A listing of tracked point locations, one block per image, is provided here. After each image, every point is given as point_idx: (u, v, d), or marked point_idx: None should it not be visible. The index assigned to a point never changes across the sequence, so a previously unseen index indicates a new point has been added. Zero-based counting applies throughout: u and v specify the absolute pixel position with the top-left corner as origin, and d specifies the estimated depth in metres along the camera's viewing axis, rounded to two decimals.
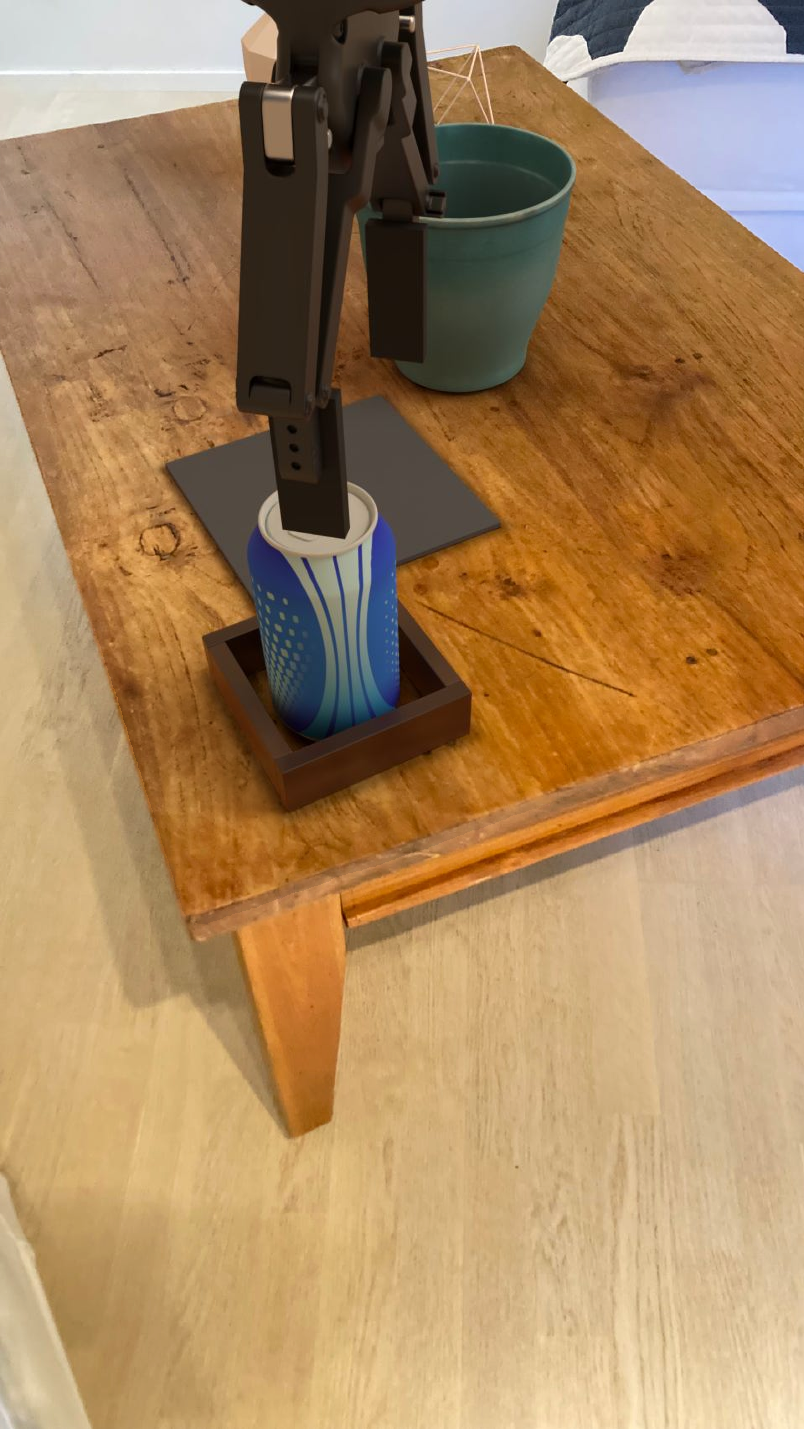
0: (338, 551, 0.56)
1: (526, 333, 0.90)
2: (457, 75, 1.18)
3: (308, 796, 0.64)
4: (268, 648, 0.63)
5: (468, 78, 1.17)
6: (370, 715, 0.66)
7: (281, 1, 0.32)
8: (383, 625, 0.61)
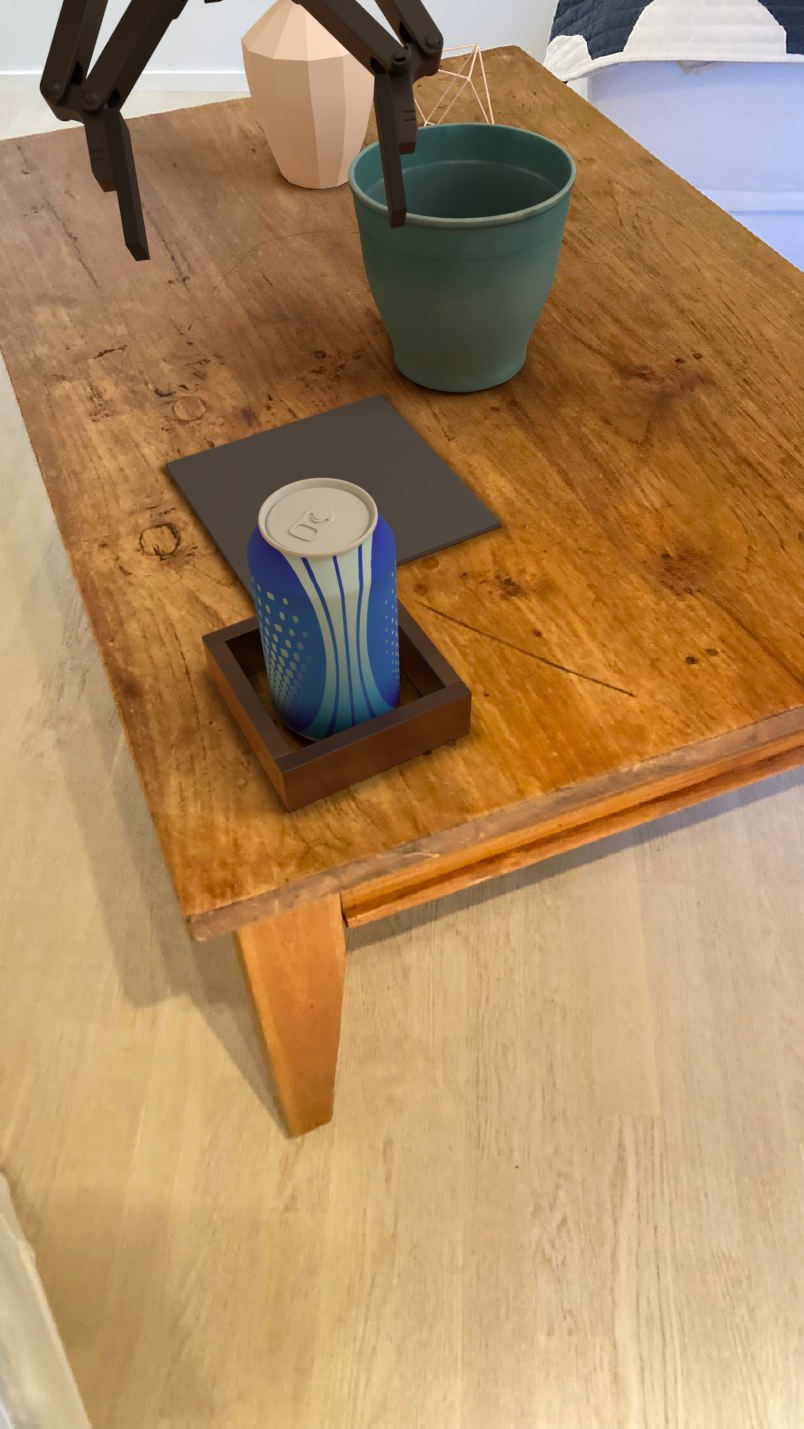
0: (338, 551, 0.56)
1: (526, 333, 0.90)
2: (457, 75, 1.18)
3: (308, 796, 0.64)
4: (268, 648, 0.63)
5: (468, 78, 1.17)
6: (370, 715, 0.66)
7: None
8: (383, 625, 0.61)
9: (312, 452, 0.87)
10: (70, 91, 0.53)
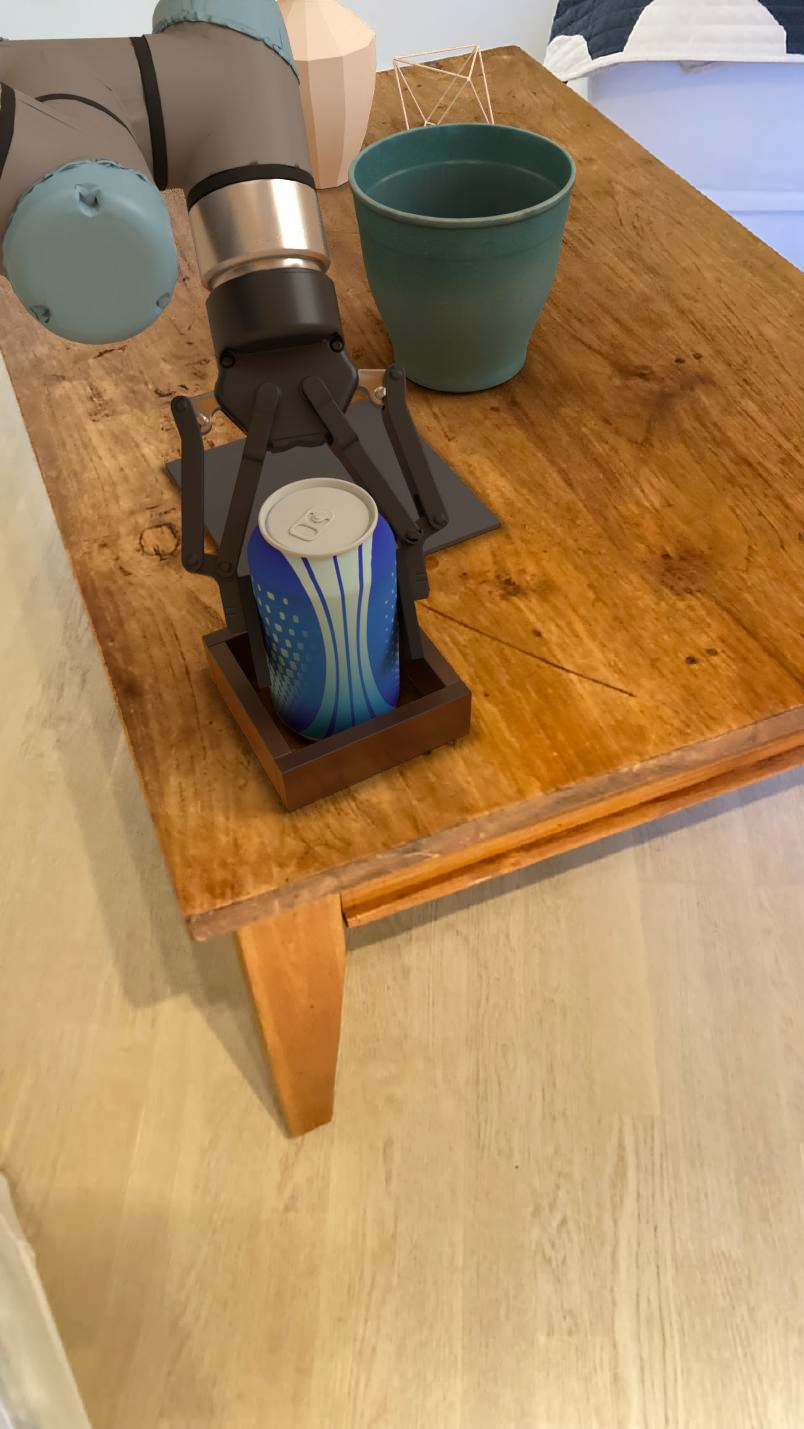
0: (338, 551, 0.56)
1: (526, 333, 0.90)
2: (457, 75, 1.18)
3: (308, 796, 0.64)
4: (268, 648, 0.63)
5: (468, 78, 1.17)
6: (370, 715, 0.66)
7: None
8: (383, 625, 0.61)
9: (312, 452, 0.87)
10: (206, 559, 0.61)
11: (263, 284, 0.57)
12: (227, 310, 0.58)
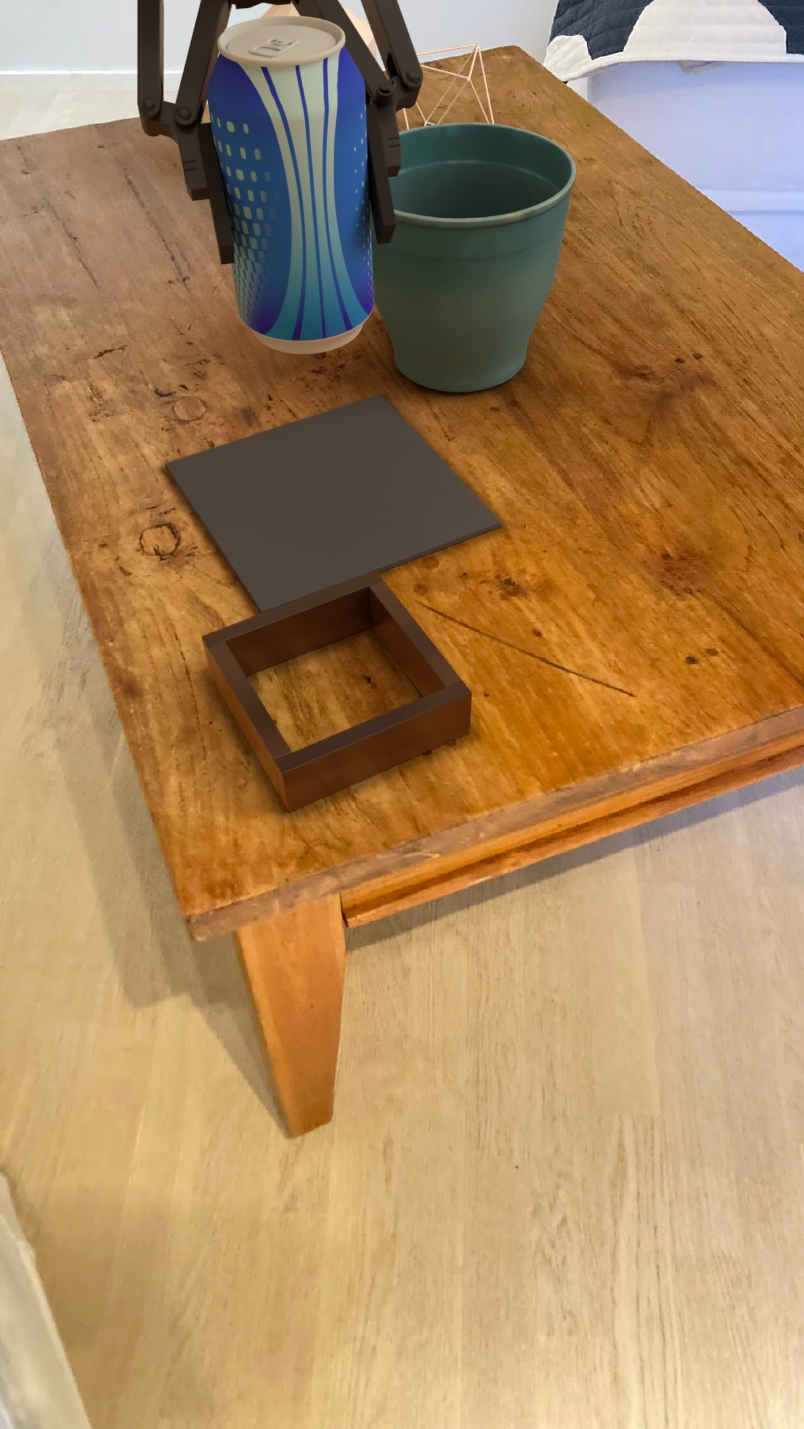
0: (301, 59, 0.52)
1: (526, 333, 0.90)
2: (457, 75, 1.18)
3: (308, 796, 0.64)
4: (231, 217, 0.59)
5: (468, 78, 1.17)
6: (340, 310, 0.62)
7: None
8: (352, 182, 0.57)
9: (312, 452, 0.87)
10: (164, 108, 0.57)
11: None
12: None
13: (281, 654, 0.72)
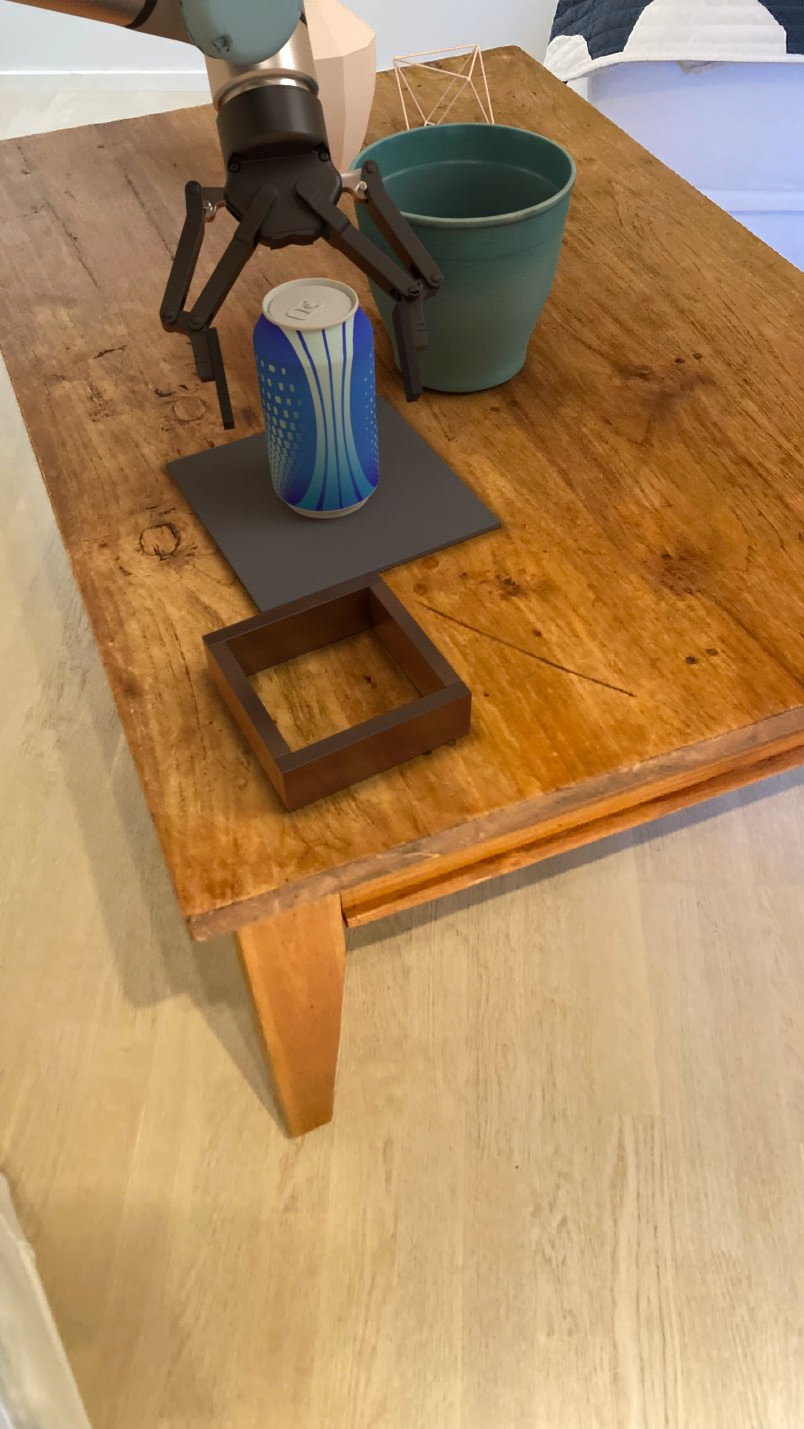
0: (326, 325, 0.70)
1: (526, 333, 0.90)
2: (457, 75, 1.18)
3: (308, 796, 0.64)
4: (269, 424, 0.76)
5: (468, 78, 1.17)
6: (354, 488, 0.79)
7: None
8: (363, 401, 0.75)
9: None
10: (180, 315, 0.73)
11: (263, 97, 0.70)
12: (234, 120, 0.71)
13: (281, 654, 0.72)
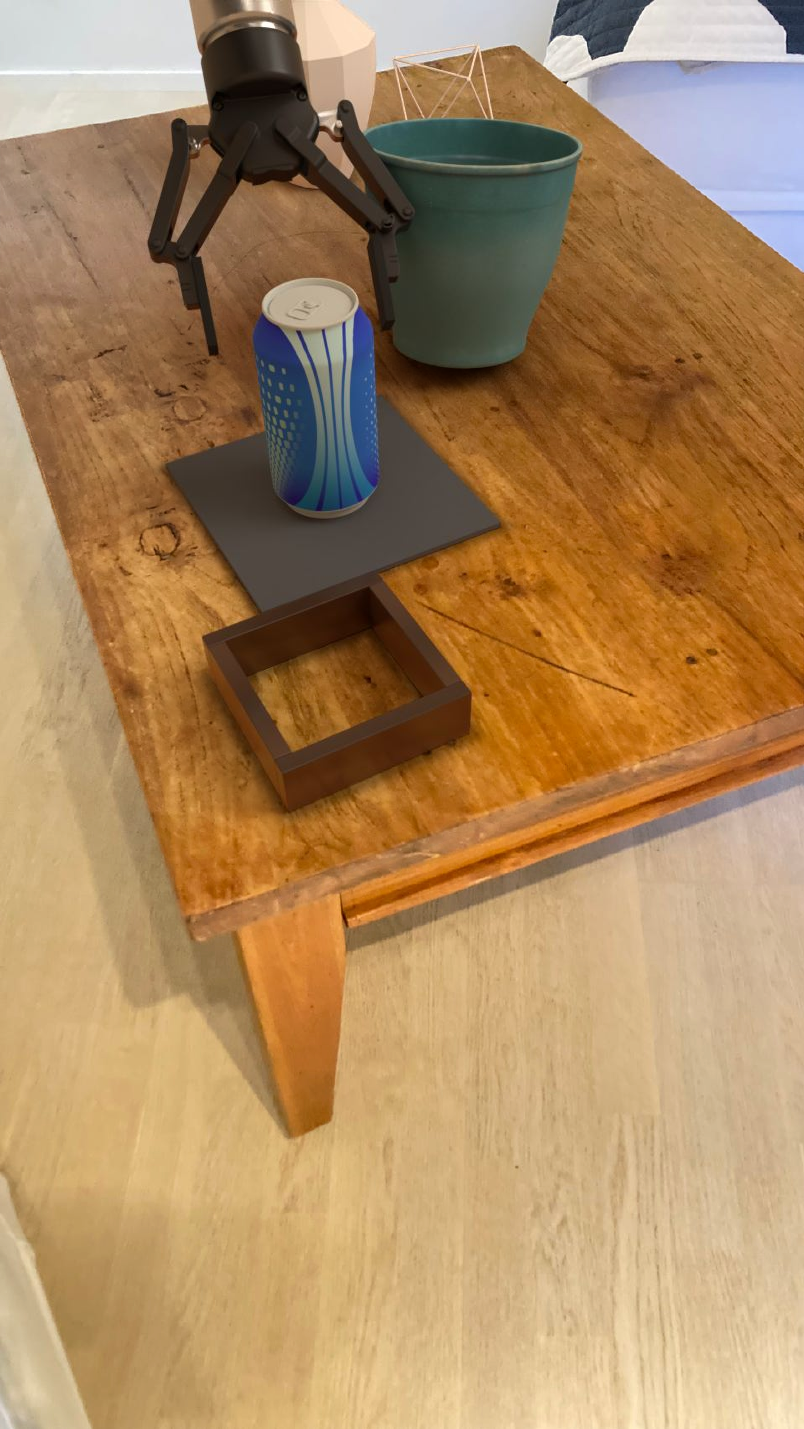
0: (326, 325, 0.70)
1: (527, 310, 0.90)
2: (457, 75, 1.18)
3: (308, 796, 0.64)
4: (269, 424, 0.76)
5: (468, 78, 1.17)
6: (354, 488, 0.79)
7: None
8: (363, 401, 0.75)
9: None
10: (167, 245, 0.78)
11: (244, 38, 0.75)
12: (217, 61, 0.76)
13: (281, 654, 0.72)
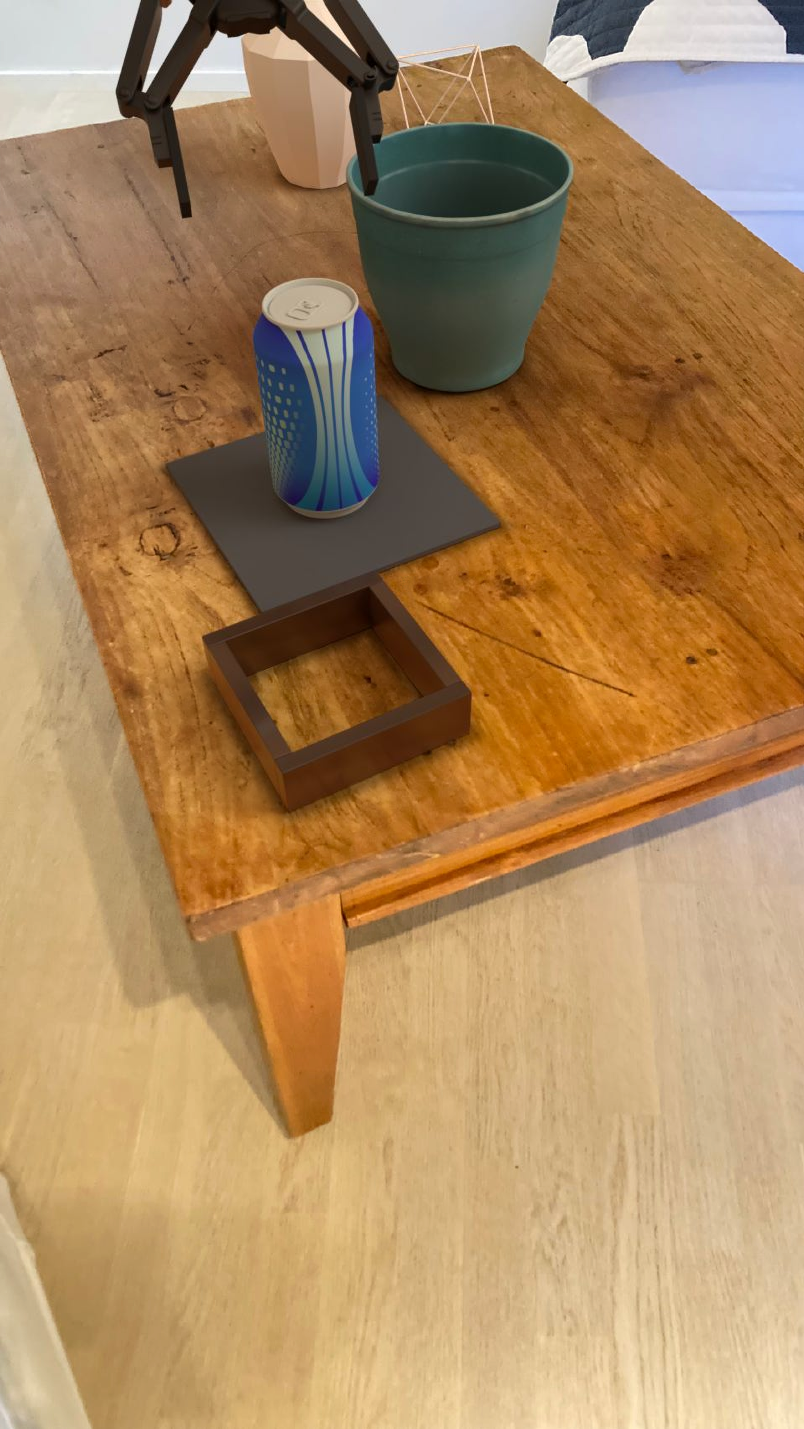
0: (326, 325, 0.70)
1: (522, 334, 0.90)
2: (457, 75, 1.18)
3: (308, 796, 0.64)
4: (269, 424, 0.76)
5: (468, 78, 1.17)
6: (354, 488, 0.79)
7: None
8: (363, 401, 0.75)
9: None
10: (136, 95, 0.74)
11: None
12: None
13: (281, 654, 0.72)
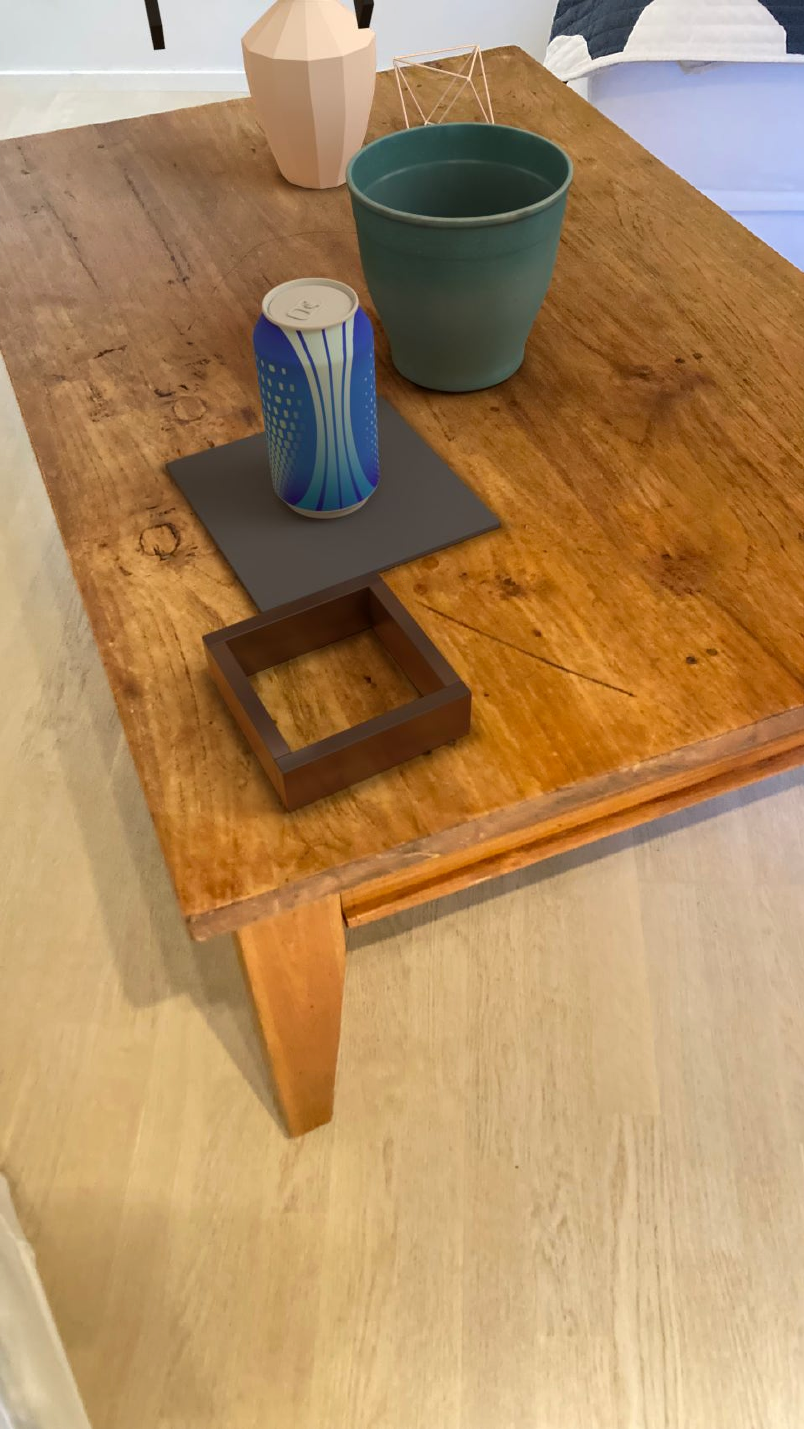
0: (326, 325, 0.70)
1: (522, 334, 0.90)
2: (457, 75, 1.18)
3: (308, 796, 0.64)
4: (269, 424, 0.76)
5: (468, 78, 1.17)
6: (354, 488, 0.79)
7: None
8: (363, 401, 0.75)
9: None
10: None
11: None
12: None
13: (281, 654, 0.72)
